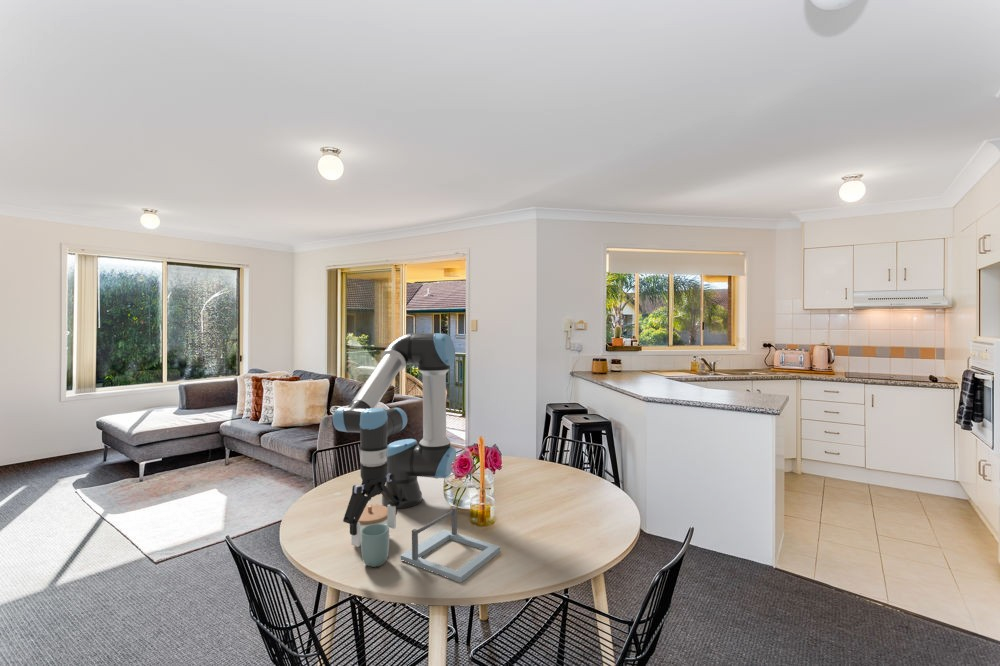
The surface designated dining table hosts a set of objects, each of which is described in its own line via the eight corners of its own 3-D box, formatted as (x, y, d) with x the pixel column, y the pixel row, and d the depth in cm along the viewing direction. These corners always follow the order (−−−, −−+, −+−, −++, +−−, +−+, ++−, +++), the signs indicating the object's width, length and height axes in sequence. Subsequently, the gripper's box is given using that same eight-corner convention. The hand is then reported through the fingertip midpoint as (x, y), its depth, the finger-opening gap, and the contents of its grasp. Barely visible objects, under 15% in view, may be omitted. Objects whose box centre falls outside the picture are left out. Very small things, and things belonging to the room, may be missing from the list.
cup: (382, 571, 136) (381, 536, 135) (356, 569, 137) (356, 534, 137) (393, 557, 143) (393, 524, 143) (369, 555, 145) (368, 522, 144)
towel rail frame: (400, 560, 142) (400, 526, 141) (443, 533, 159) (443, 503, 158) (460, 582, 130) (460, 546, 130) (500, 551, 147) (500, 519, 146)
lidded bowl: (369, 554, 146) (368, 518, 145) (341, 543, 152) (340, 509, 152) (398, 537, 156) (398, 503, 156) (371, 528, 163) (370, 496, 162)
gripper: (348, 477, 126) (348, 557, 127) (413, 454, 147) (413, 523, 148) (329, 472, 130) (330, 550, 131) (395, 451, 151) (396, 518, 152)
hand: (374, 536), depth 140 cm, fingers open, 13 cm apart
